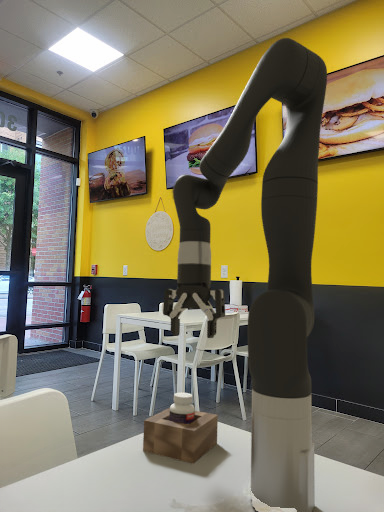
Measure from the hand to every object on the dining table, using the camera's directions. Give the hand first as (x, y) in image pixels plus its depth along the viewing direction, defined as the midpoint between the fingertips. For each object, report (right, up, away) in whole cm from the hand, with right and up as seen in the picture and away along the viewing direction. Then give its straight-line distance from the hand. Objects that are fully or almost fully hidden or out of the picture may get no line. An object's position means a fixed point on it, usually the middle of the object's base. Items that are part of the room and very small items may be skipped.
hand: (192, 336), depth 82 cm
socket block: (-2, -23, -3) cm, 23 cm away
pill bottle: (-3, -22, -3) cm, 22 cm away
